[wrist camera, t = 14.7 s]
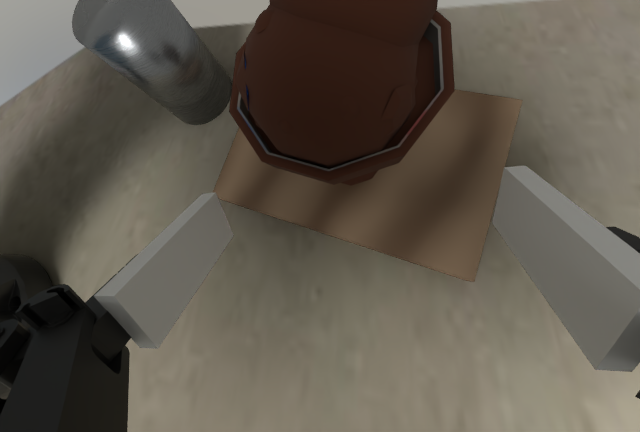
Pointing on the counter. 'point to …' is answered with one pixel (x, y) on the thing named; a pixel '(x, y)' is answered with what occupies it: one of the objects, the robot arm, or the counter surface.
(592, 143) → the counter surface
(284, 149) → the ice cream bowl
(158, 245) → the robot arm
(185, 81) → the metal tin
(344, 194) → the walnut board
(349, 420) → the counter surface
